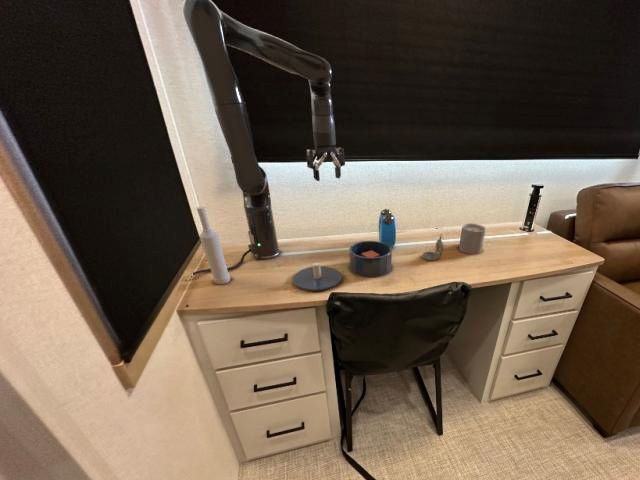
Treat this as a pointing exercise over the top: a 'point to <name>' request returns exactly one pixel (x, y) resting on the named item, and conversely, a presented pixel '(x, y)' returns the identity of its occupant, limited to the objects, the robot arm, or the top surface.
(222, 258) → the bottle
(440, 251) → the pocket watch
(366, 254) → the block
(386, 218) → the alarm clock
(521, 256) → the top surface
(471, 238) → the grey cylinder
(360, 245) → the bowl
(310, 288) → the lid
